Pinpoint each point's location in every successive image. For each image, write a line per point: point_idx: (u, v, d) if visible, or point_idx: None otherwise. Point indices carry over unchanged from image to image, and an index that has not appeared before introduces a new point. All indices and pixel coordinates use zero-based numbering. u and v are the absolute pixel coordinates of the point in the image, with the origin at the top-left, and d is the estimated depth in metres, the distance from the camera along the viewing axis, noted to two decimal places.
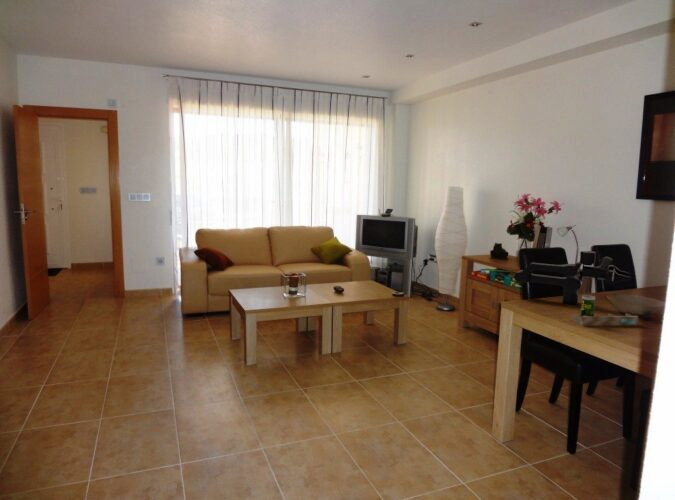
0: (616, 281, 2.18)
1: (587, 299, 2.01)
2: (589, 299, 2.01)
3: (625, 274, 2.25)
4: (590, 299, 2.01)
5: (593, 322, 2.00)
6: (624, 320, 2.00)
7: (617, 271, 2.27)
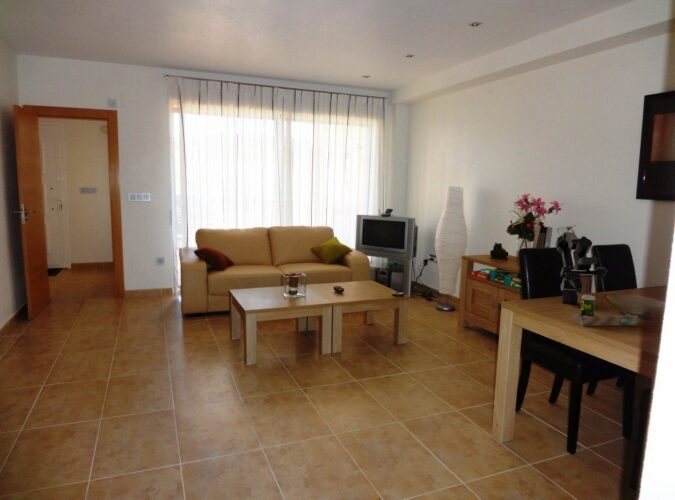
0: (568, 279, 2.16)
1: (587, 299, 2.01)
2: (589, 299, 2.01)
3: (596, 284, 2.10)
4: (590, 299, 2.01)
5: (593, 322, 2.00)
6: (624, 320, 2.00)
7: (596, 276, 2.12)
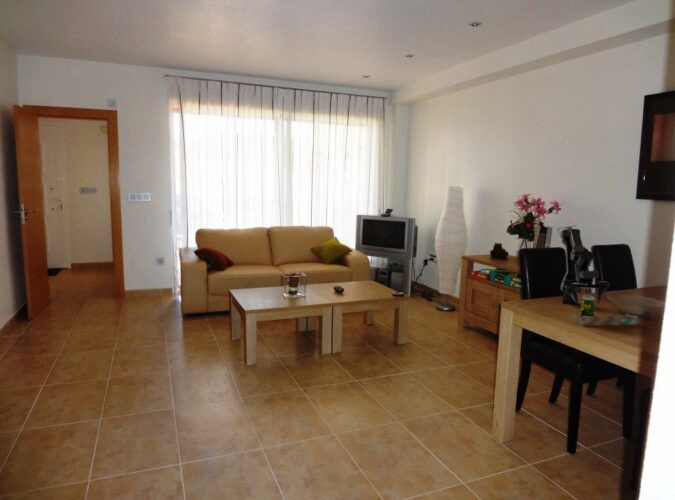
0: (568, 292, 2.11)
1: (587, 299, 2.01)
2: (589, 299, 2.01)
3: (597, 298, 2.05)
4: (590, 299, 2.01)
5: (593, 322, 2.00)
6: (624, 320, 2.00)
7: (598, 290, 2.06)
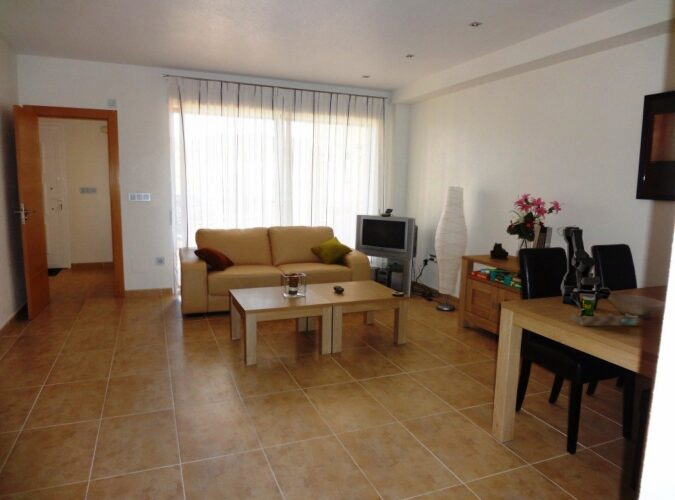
0: (574, 299, 2.08)
1: (587, 299, 2.01)
2: (589, 299, 2.01)
3: None
4: (590, 299, 2.01)
5: (593, 322, 2.00)
6: (624, 320, 2.00)
7: (595, 297, 2.04)
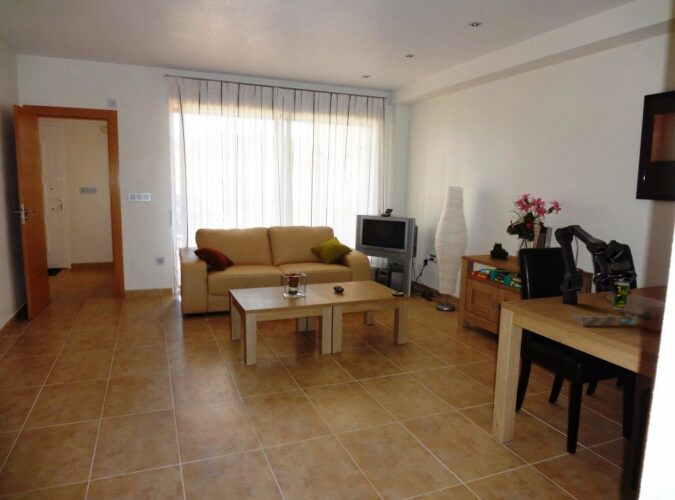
0: (605, 286, 2.05)
1: (624, 285, 1.99)
2: (626, 284, 1.99)
3: None
4: (626, 284, 1.99)
5: (593, 322, 2.00)
6: (624, 320, 2.00)
7: None
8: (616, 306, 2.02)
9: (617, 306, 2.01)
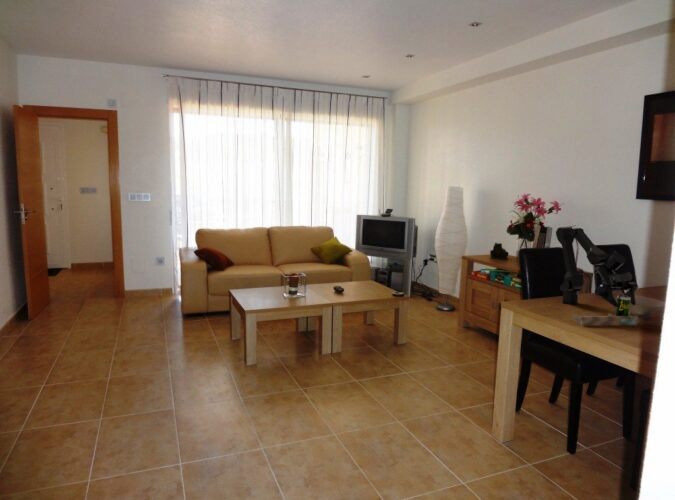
0: (604, 297, 2.05)
1: (626, 299, 2.00)
2: (627, 299, 2.00)
3: (631, 300, 2.04)
4: (628, 299, 2.01)
5: (593, 322, 2.00)
6: (624, 320, 2.00)
7: (629, 292, 2.06)
8: None
9: None
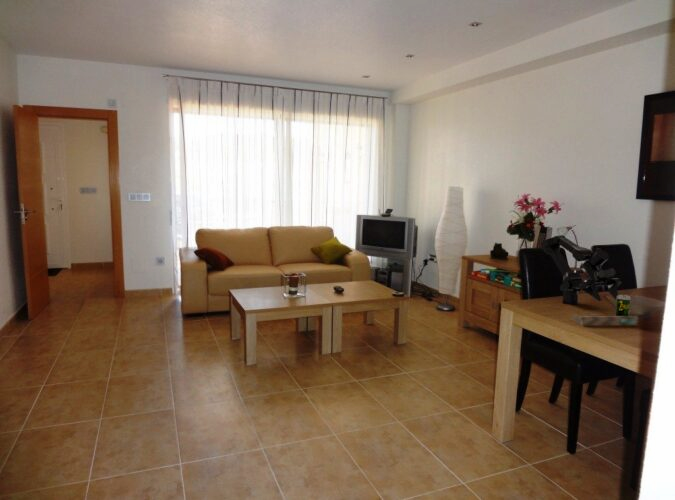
0: (588, 292, 2.14)
1: (626, 299, 2.00)
2: (627, 299, 2.00)
3: (614, 295, 2.13)
4: (628, 299, 2.01)
5: (593, 322, 2.00)
6: (624, 320, 2.00)
7: (613, 287, 2.15)
8: None
9: None
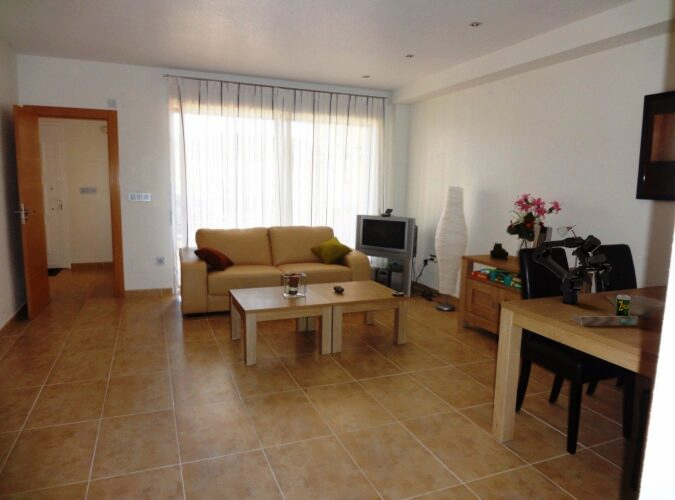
0: (580, 278, 2.20)
1: (626, 299, 2.00)
2: (627, 299, 2.00)
3: (605, 280, 2.19)
4: (628, 299, 2.01)
5: (593, 322, 2.00)
6: (624, 320, 2.00)
7: (604, 273, 2.20)
8: None
9: None
